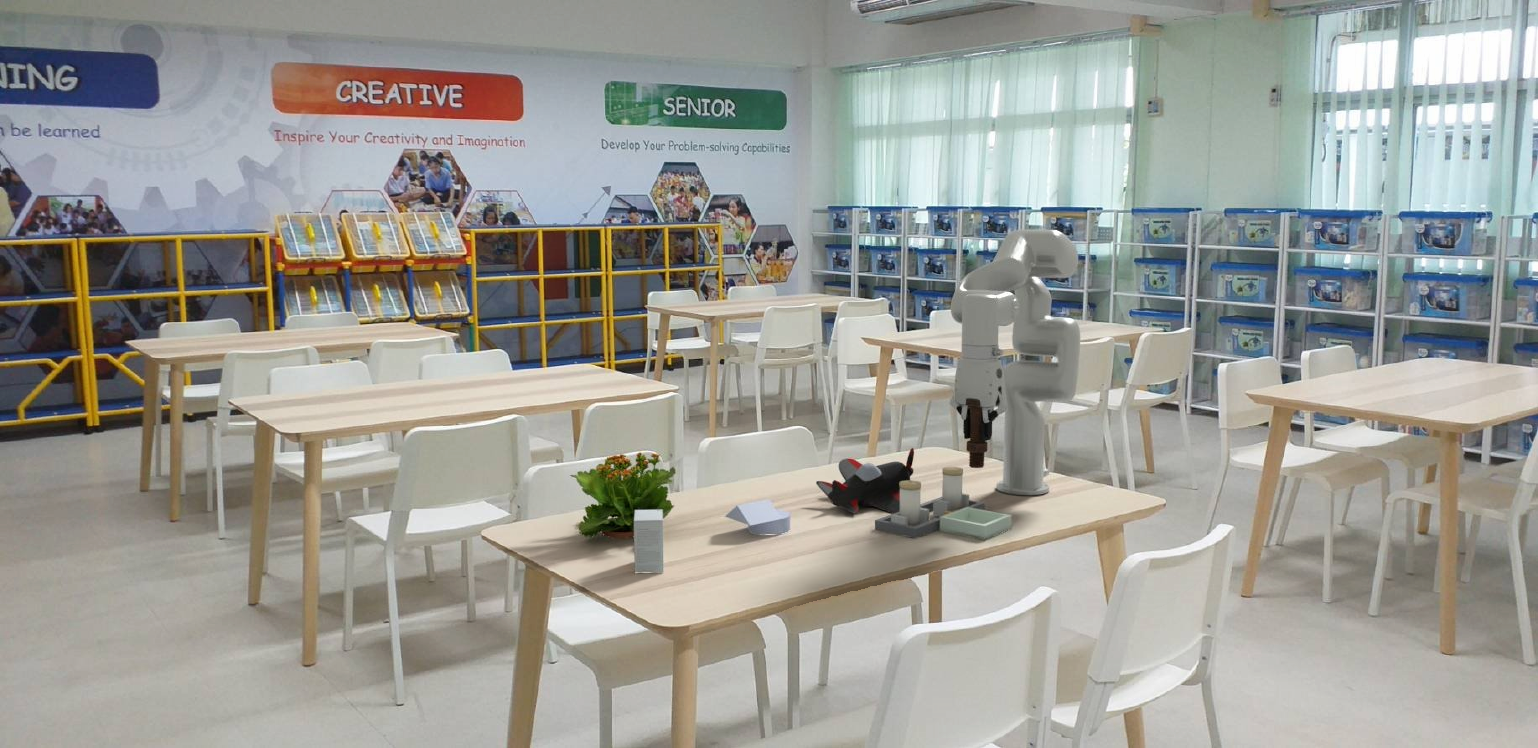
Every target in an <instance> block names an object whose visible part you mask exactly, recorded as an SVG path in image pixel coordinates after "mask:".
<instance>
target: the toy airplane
mask: <svg viewBox="0 0 1538 748" xmlns="http://www.w3.org/2000/svg"><path fill="white" fill-rule="evenodd" d="M914 456H915V450H914V447H911V449H910V450H909V452H908V455H907V459H906V465H905V464H904V463H903V462H901V461H891V462H887V463H882V464H878V465H875V464H874V463H871V462H866V463H864V464H863V463H862V462H860V461H858V460H856V459H854V458H844V459H841V460H840V461H839V462H838V470H839V473H840V475H841V476H842V478H843V480H844V482H843V483H841V482H840V481H838V480H834V479H833V481H832V483H830V482H827V481H823V480H821V481H820V480H817V481H816V482H815V483H816V485H817V487H818V488H819V489H820V490H821V491H822V492H823V493H824V494H825V496H827V497H828V499H829V500H830V501H829V502H830V503H831V504H832V505H833V506H836V507H841V509H842V508H843V509H844V510H846V511H847V512H850V513H852V514H856V513H857V512H858V511H859V508H866V507H871V506H872V507H874V508H878V509H881V510H882V511H885V512H888V513H891V514H894V513H897V512H899V511H900V488H899V482H901V481H906V480H911V476H912V475H913V473H914V468H913V467H912V466H913V463H914Z"/></svg>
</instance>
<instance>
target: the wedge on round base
mask: <svg viewBox="0 0 1538 748" xmlns="http://www.w3.org/2000/svg"><path fill="white" fill-rule="evenodd" d="M724 517H725V518H727V519H729V520H734V521H736V522H739V523H742V524H745V525H747V527H748V528H747V529H748V530H747V531H748V532H750V533H751V532H752V533H751V534H754V533H755V535H759V534H780V535H783V534H782V533H784V534H786V533H785V532H787V533H789V532H790V531H791V513H790V512H789V511H787V510H784V509H777V508H776V507H775V506H774V504H773V503H772V501H771V499H770V498H768V499H764V500H763V499H762V500H757V501H751V502H746V503H743V504H737V505H736V506H735V507H734V508H732V509H731V511H729V512H728V513H727V514H726V515H724ZM789 530H790V531H789ZM788 531H789V532H788Z"/></svg>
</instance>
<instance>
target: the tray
mask: <svg viewBox="0 0 1538 748" xmlns="http://www.w3.org/2000/svg"><path fill="white" fill-rule="evenodd" d="M1008 529H1010V530H1012V514H1007V513H1000V512H995V511H992V510H991V511H990V510H986V509H985V510H981V509H976V508H970V507H965V508H963V509H960V510H957V511H955V512H952V513H949V514H947V515H944V516H941V517H940V529H939V532H943V533H944V532H945V533H947V534H948V533H949V534H953V535H958V536H962V537H968V538H972V539H976V540H977V539H978V540H981V539H984V540H983V541H986V540H988V539H991V538H993V536H994V535H996V534H998V535H1001V534H1003V533H1005V532H1007V531H1006V530H1008ZM1004 531H1005V532H1004ZM1008 531H1009V530H1008ZM1002 532H1003V533H1002ZM1000 533H1001V534H1000ZM996 536H997V535H996ZM994 537H995V536H994ZM985 539H986V540H985Z"/></svg>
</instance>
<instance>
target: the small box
mask: <svg viewBox="0 0 1538 748" xmlns="http://www.w3.org/2000/svg"><path fill="white" fill-rule="evenodd" d="M633 553H634V555H633V556H634V573H635V572H663V573H664V519H663V510H635V511H634V537H633Z"/></svg>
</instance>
